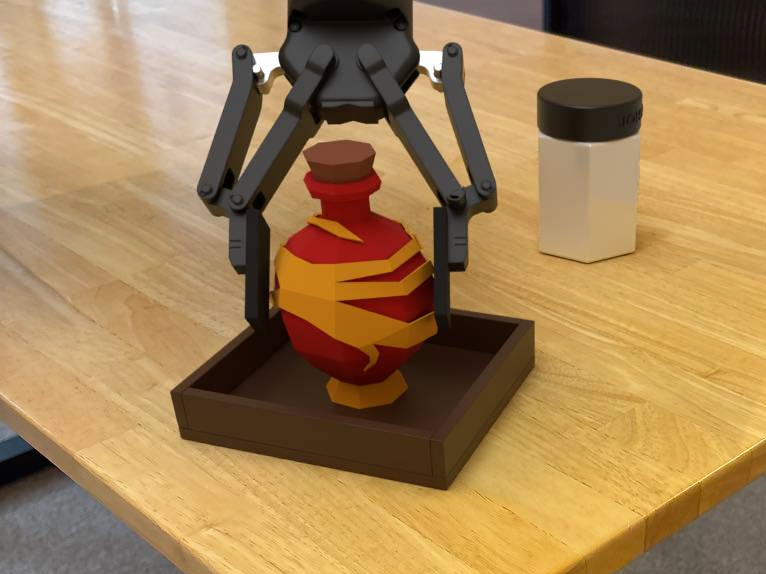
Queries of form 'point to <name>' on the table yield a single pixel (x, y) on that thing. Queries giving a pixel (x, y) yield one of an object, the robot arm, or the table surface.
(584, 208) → the jar
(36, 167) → the table surface
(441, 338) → the shallow brown tray
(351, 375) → the potion bottle
